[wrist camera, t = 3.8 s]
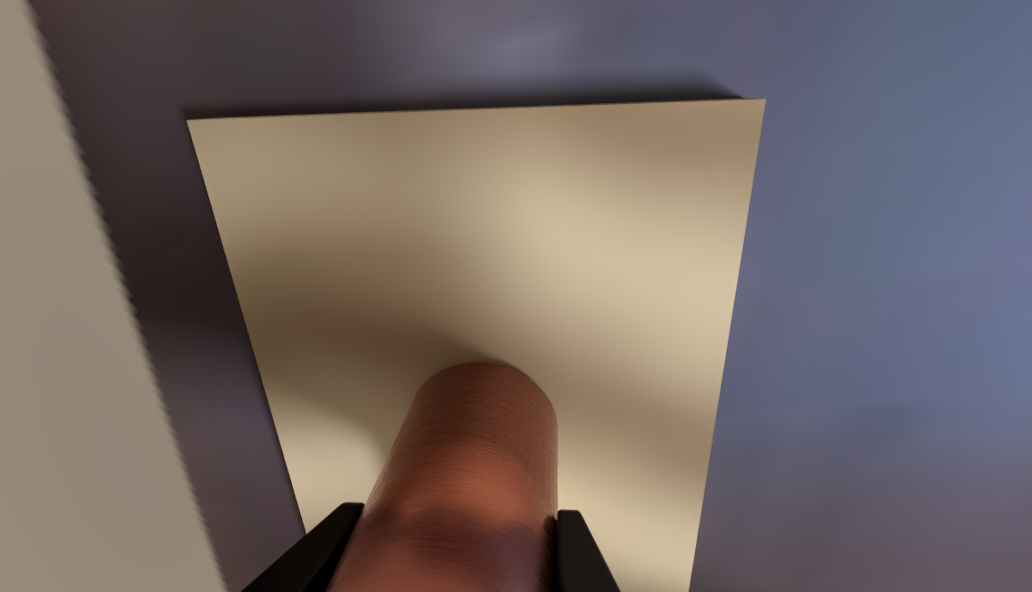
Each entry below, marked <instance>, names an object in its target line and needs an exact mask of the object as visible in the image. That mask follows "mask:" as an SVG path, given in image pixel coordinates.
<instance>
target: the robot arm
mask: <svg viewBox="0 0 1032 592" xmlns="http://www.w3.org/2000/svg"><path fill="white" fill-rule="evenodd" d="M364 506H365V504H364V503H362V502H344V503H342V504H340V505H339V506H338V507H337V508H336V509H335V510H333V511H332V512H331V513H330V514H329V515H328V516H327V517H325V518H324V519H323V520H322V521H321V522H320V523H319V524H317V525H316V526H315V527H314V528H313V529H312V530H311V531H309V532H308V533H307V534H306V535H305V536H304V537H303V538H301V539H300V540H299V541H298V542H297V543H296V544H295V545H293V546H292V547H291V548H290V549H289V550H288V551H287V552H285V553H284V554H283V555H282V556H281V557H280V558H279V559H277V560H276V561H275V562H274V563H273V564H272V565H271V566H269V567H268V568H267V569H266V570H265V571H264V572H263V573H261V574H260V575H259V576H258V577H257V578H256V579H255V580H253V581H252V582H251V583H250V584H249V585H248V586H247V587H245V588H244V589H243V590H242V591H241V592H325V590H326V588H327V586H328V584H329V582H330V579H331V577H332V575H333V573H334V571H335V569H336V566H337V564H338V562H339V560H340V558H341V556H342V553H343V551H344V549H345V547H346V545H347V543H348V541H349V538H350V536H351V534H352V532H353V530H354V528H355V525H356V523H357V521H358V519H359V517H360V515H361V512H362V510H363V508H364ZM557 592H621V591H620V589H619V587H618V585H617V583H616V581H615V579H614V577H613V575H612V573H611V571H610V569H609V567H608V565H607V563H606V561H605V559H604V557H603V555H602V553H601V551H600V549H599V547H598V545H597V543H596V541H595V539H594V537H593V536H592V534H591V532H590V530H589V528H588V526H587V524H586V522H585V520H584V518H583V516H582V514H581V513H580V511H578V510H568V509H560V510H558V512H557Z"/></svg>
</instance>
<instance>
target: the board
mask: <svg viewBox="0 0 1032 592" xmlns="http://www.w3.org/2000/svg"><path fill="white" fill-rule="evenodd" d="M765 101H766V99H755V98H735V99H708V100H681V101H654V102H627V103H600V104H573V105H546V106H518V107H491V108H464V109H437V110H410V111H383V112H356V113H329V114H302V115H275V116H248V117H221V118H208V119H195V120H187V123H188V126H189V130H190V133H191V137H192V140H193V144H194V147H195V151H196V154H197V158H198V161H199V164H200V168H201V171H202V175H203V178H204V182H205V185H206V189H207V192H208V196H209V199H210V202H211V206H212V209H213V213H214V216H215V220H216V223H217V227H218V230H219V233H220V237H221V240H222V244H223V247H224V251H225V254H226V258H227V261H228V265H229V268H230V271H231V275H232V278H233V282H234V285H235V289H236V292H237V296H238V299H239V302H240V306H241V309H242V313H243V316H244V320H245V323H246V327H247V330H248V334H249V337H250V340H251V344H252V347H253V351H254V354H255V358H256V361H257V365H258V368H259V371H260V375H261V378H262V382H263V385H264V389H265V392H266V396H267V399H268V403H269V406H270V409H271V413H272V416H273V420H274V423H275V427H276V430H277V434H278V437H279V440H280V444H281V447H282V451H283V454H284V458H285V461H286V465H287V468H288V472H289V475H290V478H291V482H292V485H293V489H294V492H295V496H296V499H297V503H298V506H299V509H300V513H301V516H302V520H303V523H304V527H305V530H306V534H307V533H308V532H309V531H311V530H312V529H313V528H314V527H315V526H316V525H317V524H319V523H320V522H321V521H322V520H323V519H324V518H325V517H327V516H328V515H329V514H330V513H331V512H332V511H333V510H335V509H336V508H337V507H338V506H339V505H340V504H342V503H344V502H362V503H364V504H366V502H367V500H368V497H369V495H370V493H371V491H372V489H373V487H374V484H375V482H376V480H377V478H378V476H379V474H380V471H381V469H382V467H383V465H384V463H385V461H386V458H387V456H388V454H389V452H390V450H391V448H392V446H393V443H394V441H395V439H396V437H397V435H398V433H399V430H400V428H401V426H402V424H403V422H404V420H405V417H406V415H407V413H408V411H409V409H410V407H411V405H412V402H413V400H414V398H415V396H416V394H417V392H418V391H419V389H420V388H421V386H422V385H423V384H424V383H425V382H426V381H427V380H428V379H429V378H431V377H432V376H433V375H435V374H436V373H438V372H440V371H441V370H444V369H446V368H448V367H451V366H454V365H458V364H463V363H472V362H483V363H492V364H498V365H502V366H505V367H508V368H511V369H513V370H515V371H518V372H520V373H521V374H523V375H525V376H527V377H528V378H529V379H531V380H532V381H533V382H535V383H536V384H537V385H538V386H539V387H540V388H541V389H542V390H543V392H544V393H545V394H546V395H547V397H548V398H549V400H550V402H551V403H552V405H553V408H554V410H555V413H556V417H557V425H558V510H560V509H568V510H578V511H580V513H581V514H582V516H583V518H584V520H585V522H586V524H587V526H588V528H589V530H590V532H591V534H592V536H593V537H594V539H595V541H596V543H597V545H598V547H599V549H600V551H601V553H602V555H603V557H604V559H605V561H606V563H607V565H608V567H609V569H610V571H611V573H612V575H613V577H614V579H615V581H616V583H617V585H618V587H619V589H620V591H621V592H688V591H689V585H690V579H691V572H692V566H693V560H694V553H695V547H696V541H697V534H698V528H699V521H700V515H701V509H702V502H703V496H704V490H705V483H706V477H707V471H708V464H709V458H710V451H711V445H712V439H713V432H714V426H715V420H716V413H717V407H718V400H719V394H720V388H721V381H722V375H723V369H724V362H725V356H726V350H727V343H728V337H729V330H730V324H731V318H732V311H733V305H734V299H735V292H736V286H737V280H738V273H739V267H740V260H741V254H742V248H743V241H744V235H745V229H746V222H747V216H748V210H749V203H750V197H751V190H752V184H753V178H754V171H755V165H756V159H757V152H758V146H759V139H760V133H761V127H762V120H763V114H764V108H765Z"/></svg>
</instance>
